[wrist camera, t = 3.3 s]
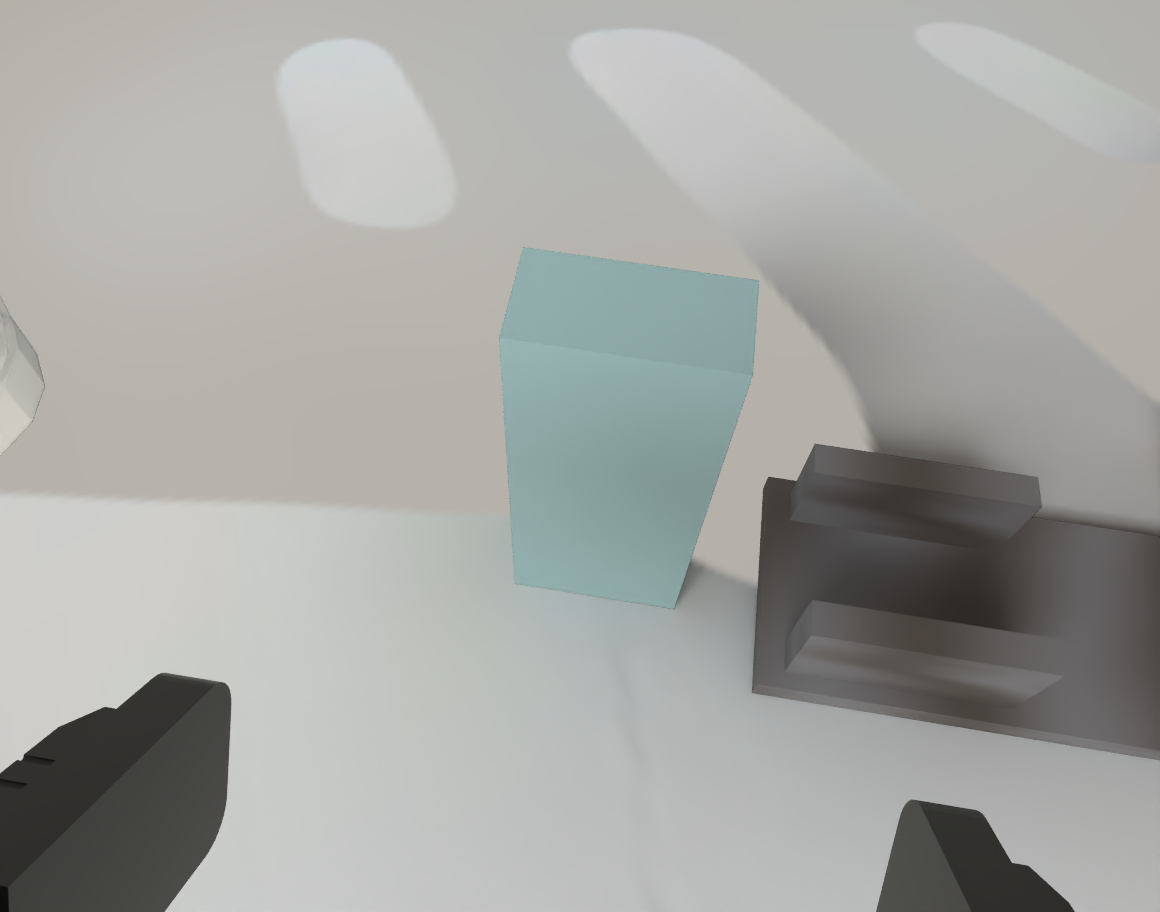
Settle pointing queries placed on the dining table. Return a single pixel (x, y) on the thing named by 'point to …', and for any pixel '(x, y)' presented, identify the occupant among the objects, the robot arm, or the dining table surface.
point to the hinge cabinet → (956, 603)
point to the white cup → (16, 380)
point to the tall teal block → (618, 417)
